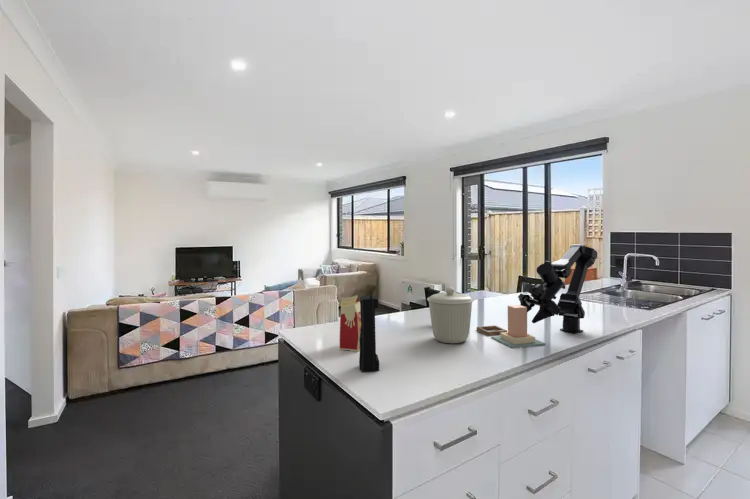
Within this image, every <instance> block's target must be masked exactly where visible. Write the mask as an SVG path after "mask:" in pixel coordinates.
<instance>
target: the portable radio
mask: <svg viewBox="0 0 750 499" xmlns="http://www.w3.org/2000/svg"><path fill="white" fill-rule="evenodd" d="M369 292H370V295H361V297H360V298H359V301H360V315H361V330H360V331H361V333H360V338H359V342H360V351H359V358H358V359H359V361H358V362H359V363H358V365H359V366H358V367H359V370H360V371H361V373H367V372H369V373H370V372H377V371H380V359H379V356H378V354H377V348H376V347H377V346H376V344H377V343H376V309H377V308H378V307H379V299H378V297H377V295H373V294H372V292H373V291H369Z"/></svg>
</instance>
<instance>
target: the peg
mask: <svg viewBox="0 0 750 499" xmlns="http://www.w3.org/2000/svg"><path fill="white" fill-rule="evenodd" d="M507 332H508V335H509V336H511V337H514V338H520V337H527V334H528V312H527V307H524V306H521V304H513V305H511V304H510V305H507Z"/></svg>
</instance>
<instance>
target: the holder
mask: <svg viewBox="0 0 750 499" xmlns="http://www.w3.org/2000/svg"><path fill="white" fill-rule="evenodd" d="M493 329H495V330H493ZM476 331H477V332H479V333H481V334H484V336H487V337H490V336H491V337H492V336H500V333H503V332H508V329H505V328H504V327H503V328H502V327H500V326H498V325H495V324H494V325H485V326H483V325H482V326H476Z"/></svg>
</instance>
